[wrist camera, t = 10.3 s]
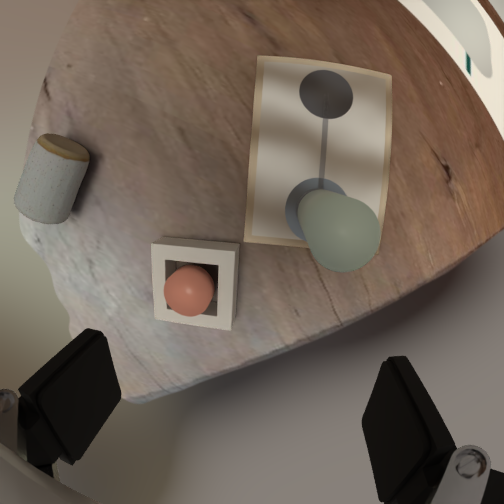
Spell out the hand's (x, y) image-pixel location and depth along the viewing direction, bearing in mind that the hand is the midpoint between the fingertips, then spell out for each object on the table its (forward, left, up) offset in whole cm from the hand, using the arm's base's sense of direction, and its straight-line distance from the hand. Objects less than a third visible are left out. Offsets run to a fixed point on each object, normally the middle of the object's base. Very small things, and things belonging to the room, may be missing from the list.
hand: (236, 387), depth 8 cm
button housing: (+4, -7, -20) cm, 21 cm away
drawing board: (-9, +4, -20) cm, 22 cm away
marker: (-4, +4, -19) cm, 19 cm away
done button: (+4, -7, -17) cm, 19 cm away
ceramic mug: (-7, -25, -20) cm, 33 cm away
